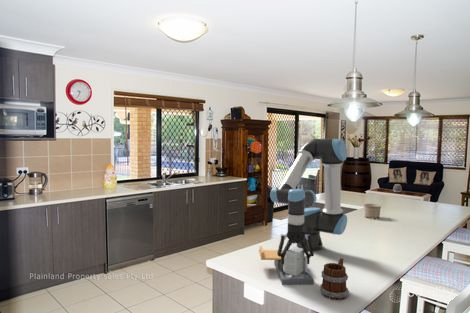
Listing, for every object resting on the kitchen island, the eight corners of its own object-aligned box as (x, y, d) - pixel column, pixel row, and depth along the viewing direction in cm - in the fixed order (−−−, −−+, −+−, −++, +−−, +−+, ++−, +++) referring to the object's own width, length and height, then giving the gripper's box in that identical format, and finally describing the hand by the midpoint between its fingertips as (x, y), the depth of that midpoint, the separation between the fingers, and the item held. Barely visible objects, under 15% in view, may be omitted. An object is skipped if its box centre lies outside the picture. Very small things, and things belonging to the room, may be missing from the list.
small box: (293, 267, 160) (294, 246, 159) (304, 271, 156) (305, 248, 155) (285, 273, 153) (285, 250, 153) (296, 276, 150) (296, 253, 149)
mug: (313, 295, 138) (317, 258, 139) (326, 289, 149) (329, 255, 150) (341, 304, 131) (345, 265, 132) (352, 296, 142) (355, 261, 143)
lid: (286, 251, 172) (286, 245, 172) (290, 259, 161) (290, 253, 161) (258, 251, 172) (259, 245, 172) (261, 259, 160) (261, 253, 160)
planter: (368, 215, 283) (369, 203, 283) (383, 218, 274) (383, 205, 273) (360, 217, 275) (361, 204, 275) (375, 220, 266) (376, 207, 265)
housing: (301, 263, 173) (301, 252, 173) (313, 284, 148) (314, 271, 148) (274, 263, 173) (274, 252, 172) (282, 284, 148) (282, 271, 147)
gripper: (317, 220, 157) (316, 267, 159) (271, 220, 157) (270, 267, 158) (321, 225, 150) (320, 274, 151) (273, 225, 149) (272, 274, 151)
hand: (294, 270), depth 155 cm, fingers closed on small box, 9 cm apart
